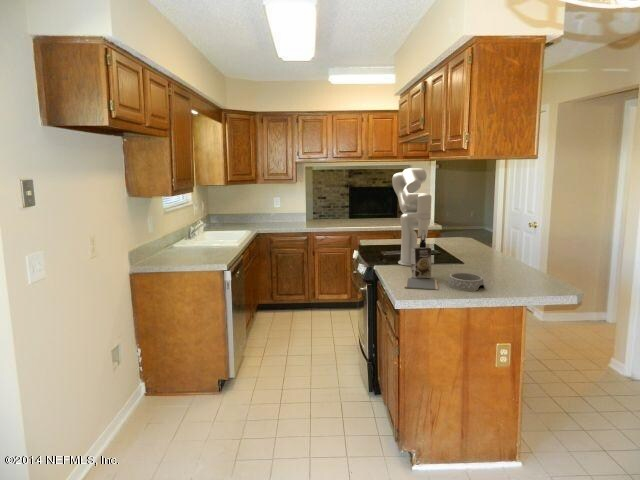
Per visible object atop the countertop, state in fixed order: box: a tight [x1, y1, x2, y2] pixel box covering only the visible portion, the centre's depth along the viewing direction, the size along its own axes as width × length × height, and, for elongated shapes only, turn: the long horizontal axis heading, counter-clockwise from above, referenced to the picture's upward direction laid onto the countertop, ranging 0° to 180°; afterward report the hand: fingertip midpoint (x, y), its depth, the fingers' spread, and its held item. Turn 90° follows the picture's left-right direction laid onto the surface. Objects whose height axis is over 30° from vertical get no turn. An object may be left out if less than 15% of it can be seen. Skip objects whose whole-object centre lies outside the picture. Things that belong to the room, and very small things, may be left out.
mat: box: [404, 277, 439, 291], centre depth 234 cm, size 18×16×1 cm
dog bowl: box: [446, 272, 485, 292], centre depth 231 cm, size 17×18×5 cm
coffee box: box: [410, 247, 432, 279], centre depth 246 cm, size 9×6×16 cm
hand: (422, 249), depth 252 cm, fingers closed
